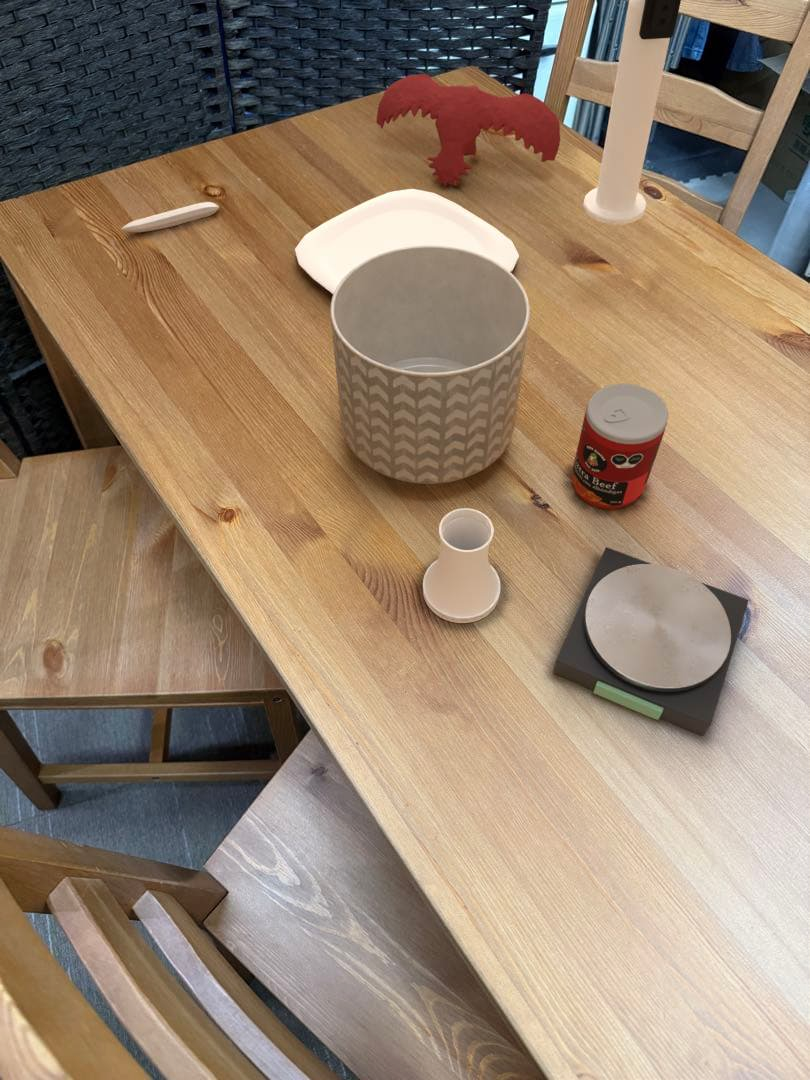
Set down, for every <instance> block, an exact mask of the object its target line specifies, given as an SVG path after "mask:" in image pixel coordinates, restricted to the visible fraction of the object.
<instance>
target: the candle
mask: <svg viewBox="0 0 810 1080" xmlns="http://www.w3.org/2000/svg"><path fill="white" fill-rule="evenodd" d="M644 4H645V0H629V4H628V3H627V6H628V10H627V9H626V16H625V21H624V22H625V23H624V28H623V35H622V40H621V46H620V52H619V59H618V64H617V70H616V75H615V82H614V87H613V93H612V99H611V106H610V112H609V116H608V124H607V128H606V129H607V130H606V134H605V140H604V145H603V146H604V147H603V152H602V158H601V165H600V171H599V177H598V181H597V187H595V188H592V189H591V190H590V191H588V192H587V193H586V195H585V196H584V199H583V209H584V211H585V213H586V214H587V216H588V217H590V218H592V219H593V220H594V221H597V222H599V223H603V224H606V225H613V226H620V225H621V226H622V225H628V224H632V223H635V222H636V221H639V220H640V219H641V218H642V217H643V216H644V215H645V213H646V209H647V201H646V199H645V197H644V196H643V195H642V194H641V193H640V192H639V187H640V183H641V182H640V181H641V178H642V173H643V168H644V164H645V159H646V155H647V149H648V145H649V141H650V140H649V139H650V135H651V130H652V126H653V120H654V117H655V116H654V115H655V112H656V107H657V102H658V97H659V92H660V88H661V82H662V78H663V73H664V68H665V64H666V59H667V54H668V51H669V45H670V40H671V38H662V39H641V37H640V35H639V31H640V26H641V21H642V15H643V10H644Z"/></svg>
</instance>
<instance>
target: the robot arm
mask: <svg viewBox="0 0 810 1080" xmlns="http://www.w3.org/2000/svg"><path fill="white" fill-rule="evenodd" d="M681 2H682V0H645V4H644V10H643V15H642V21H641V26H640V31H639V35H640V37H641V39H662V38H670V39H671V38H672V37H673V36H674V34H675V30H676V25H677V21H678V17H679V11H680V7H681ZM628 4H629V0H627V7H626V11H627V10H628Z"/></svg>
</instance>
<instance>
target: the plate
mask: <svg viewBox="0 0 810 1080" xmlns="http://www.w3.org/2000/svg"><path fill="white" fill-rule="evenodd" d="M428 245H433V246H447V247H454V248H460V249H464V250H468V251H471V252H475V253H478V254H480V255H483V256H485V257H487V258H489V259H491V260H493V261H495V262H497V263H499V264H500V265H502V266H503V267H504V268H506V269H507V270H508V271H509V272H511V273H513V271H514V268H515V267H516V265H517V262H518V260H519V258H520V254H519V252H518V250H517V248H516V246H515V245H514V243H513V241H512V240H511V239H510V238H509V237H507V236H506V235H505V234H504V233H502V232H501V231H499V229H497V228H496V227H494V226H493V225H492V224H491V223H488V222H486V221H485V220H484V219H482V218H481V217H479V216H477V215H475V214H474V213H473V212H471V211H469V210H467V209H466V208H464V207H463V206H461V205H460V204H457V203H456V202H454V201H451V200H450V199H447V198H446V197H443V196H441V195H439V194H437V193H435V192H431V191H426V190H421V189H417V188H407V189H401V190H400V189H399V190H394V191H388V192H386V193H383V194H381V195H378V196H376V197H373V198H371V199H370V198H369V199H368V200H366V201H364V202H362V203H359V204H358V205H356V206H354V207H352V208H350V209H348V210H346V211H343V212H342V213H340V214H337V215H336V216H334V217H333V218H331V219H329V220H327V221H325V222H323V223H322V224H320V225H319V226H317V227H315V228H314V229H312V230H311V231H309V232H307V233H305V234H304V236H303V237H302V238H301V240H300V241H299V243H298V244H297V246H295V248H294V252H295V256H296V259H297V263H298V264H297V265H298V266H299V267H300V268H301V269H302V270H303V271H304V272H305V273H306V274H307V275H308V276H309V277H310V278H311V279H312V280H313V281H314V282H316V283H317V284H318V285H319V286H321V287H322V288H323V289H324V290H325V291H327V292H328V293H329V294H331V295H332V296H333V294H334V292H335V290H336V288H337V286H338V285H339V283H340V282H341V280H342V279H343V278H344V277H345V276H346V275H347V274H348V273H349V272H350V271H351V270H352V269H354V268H355V267H357V266H358V265H359V264H361V263H363V262H364V261H366V260H368V259H370V258H372V257H374V256H377V255H379V254H382V253H385V252H388V251H391V250H395V249H400V248H405V247H412V246H428Z"/></svg>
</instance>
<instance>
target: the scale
mask: <svg viewBox="0 0 810 1080" xmlns="http://www.w3.org/2000/svg"><path fill="white" fill-rule="evenodd" d="M748 604H749V599H747V598H744V597H742V596H739V595H737V594H734V593H731V592H729V591H726V590H723V589H720V588H718V587H716V586H712V585H710V584H707V583H705V582H701V581H700V580H698V579H697V578H696V577H693V576H692V575H690V574H688V573H687V572H685V571H682V570H679V569H677V568H675V567H674V568H673V567H671V566H666V565H663V564H662V565H661V564H655V563H654V564H653V563H650V562H647V561H645V560H642V559H639V558H637V557H634V556H632V555H629V554H627V553H623V552H621V551H619V550H616V549H613V548H611V547H606V546H605V548H604V550H603V553H602V554H601V557H600V559H599V562H598V564H597V566H596V568H595V570H594V573H593V575H592V577H591V579H590V582H589V584H588V586H587V589H586V591H585V593H584V596H583V598H582V600H581V602H580V605H579V607H578V610H577V612H576V613H575V616H574V619H573V621H572V623H571V626H570V628H569V630H568V633H567V635H566V637H565V639H564V641H563V644H562V647H561V648H560V651H559V653H558V654H557V657H556V660H555V663H554V667H553V669H552V673H553V674H555V675H557V676H559V677H562V678H564V679H566V680H569V681H570V682H574V683H576V684H578V685H580V686H583V687H585V688H588V689H590V690H591V691H593V694H595V695H597V696H599V697H601V698H604V699H606V700H609V701H611V702H614V703H616V704H618V705H621V706H623V707H625V708H627V709H630V710H633V711H634V712H637V713H639V714H642V715H644V716H646V717H649V718H651V719H654V720H657V721H659V720H660V719H662V720H664V721H666V722H669V723H671V724H674V725H676V726H678V727H680V728H683V729H685V730H687V731H690V732H692V733H695V734H697V735H700V736H703V737H704V735H705V734H706V732H707V731H708V730H709V728H710V727H711V725H712V722H713V719H714V716H715V712H716V708H717V706H718V702H719V699H720V696H721V693H722V690H723V686H724V683H725V679H726V676H727V673H728V670H729V667H730V663H731V660H732V656H733V653H734V649H735V646H736V643H737V640H738V636H739V633H740V630H741V627H742V624H743V620H744V617H745V614H746V610H747V607H748Z"/></svg>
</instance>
